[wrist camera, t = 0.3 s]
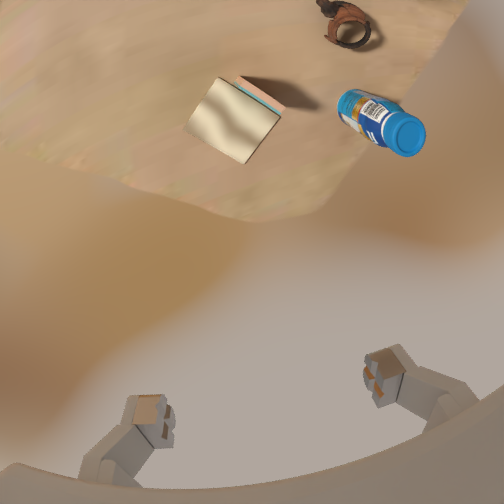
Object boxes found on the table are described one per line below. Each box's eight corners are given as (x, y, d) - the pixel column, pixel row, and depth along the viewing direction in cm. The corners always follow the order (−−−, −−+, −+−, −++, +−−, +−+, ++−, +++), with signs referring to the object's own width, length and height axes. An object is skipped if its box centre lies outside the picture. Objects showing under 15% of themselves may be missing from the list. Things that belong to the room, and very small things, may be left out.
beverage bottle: (368, 85, 48) (430, 108, 33) (373, 122, 54) (430, 158, 38) (331, 91, 49) (385, 114, 33) (338, 129, 54) (388, 167, 39)
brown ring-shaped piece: (366, 14, 38) (385, 32, 36) (336, 41, 46) (350, 61, 43) (323, -20, 32) (340, -8, 29) (291, 11, 39) (302, 27, 36)
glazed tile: (239, 75, 45) (244, 79, 38) (274, 98, 49) (285, 107, 42) (233, 82, 46) (238, 87, 39) (269, 105, 50) (279, 114, 43)
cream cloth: (217, 77, 45) (218, 77, 45) (279, 116, 51) (279, 117, 51) (182, 129, 50) (182, 130, 50) (243, 163, 57) (243, 164, 56)
